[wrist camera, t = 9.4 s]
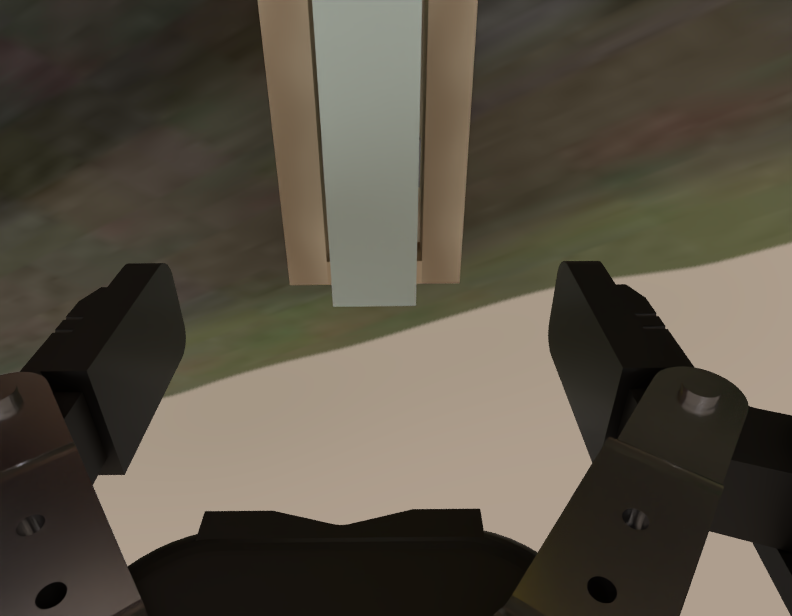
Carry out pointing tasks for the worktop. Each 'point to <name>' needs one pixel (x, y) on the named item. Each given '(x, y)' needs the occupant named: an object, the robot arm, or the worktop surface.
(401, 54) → the door panel
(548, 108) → the worktop surface
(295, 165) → the track
